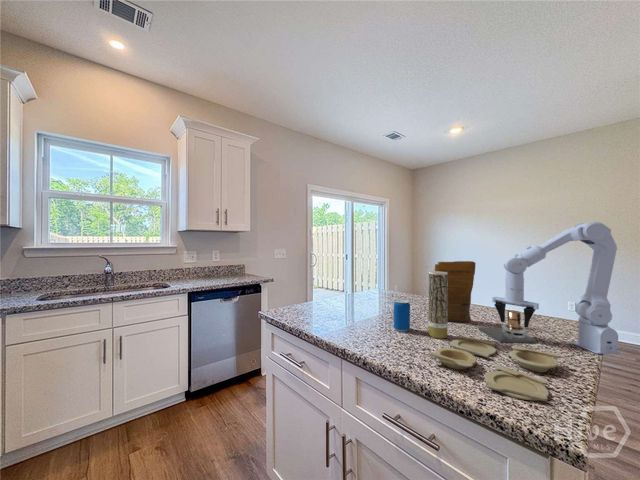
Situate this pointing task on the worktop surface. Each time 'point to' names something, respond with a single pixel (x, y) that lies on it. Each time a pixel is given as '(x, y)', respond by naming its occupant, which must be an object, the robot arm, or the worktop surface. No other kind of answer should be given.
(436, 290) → the grey patterned cylinder
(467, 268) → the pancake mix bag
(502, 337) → the collar stand
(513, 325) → the brown banded cylinder
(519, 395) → the tableware set
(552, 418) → the worktop surface
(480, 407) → the worktop surface
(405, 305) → the beverage can
